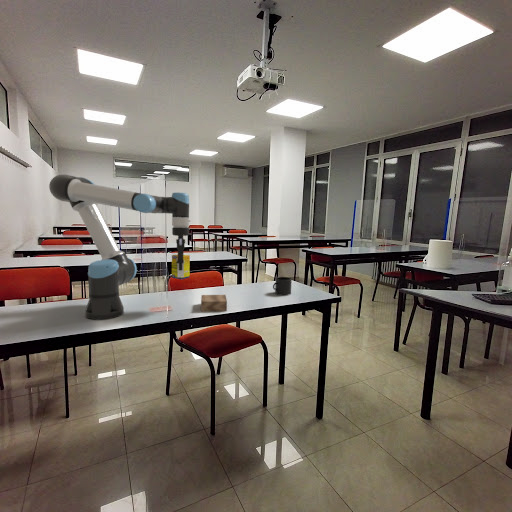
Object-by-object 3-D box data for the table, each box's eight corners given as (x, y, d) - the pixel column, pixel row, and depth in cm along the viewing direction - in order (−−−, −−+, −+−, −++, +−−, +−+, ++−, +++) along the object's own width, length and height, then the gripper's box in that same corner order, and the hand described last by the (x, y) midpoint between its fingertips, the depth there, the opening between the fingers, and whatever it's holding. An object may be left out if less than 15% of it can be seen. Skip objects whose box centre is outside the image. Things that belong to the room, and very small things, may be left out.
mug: (268, 292, 179) (269, 277, 178) (284, 290, 185) (285, 276, 184) (277, 296, 171) (277, 281, 170) (294, 294, 177) (294, 279, 176)
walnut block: (201, 312, 140) (201, 301, 140) (201, 304, 152) (201, 294, 151) (226, 311, 142) (226, 301, 141) (225, 304, 154) (225, 294, 153)
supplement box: (171, 278, 140) (171, 255, 139) (180, 276, 145) (180, 253, 144) (181, 279, 137) (181, 256, 136) (189, 277, 143) (190, 254, 141)
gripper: (189, 228, 129) (189, 279, 132) (188, 226, 149) (188, 271, 152) (171, 227, 127) (171, 280, 130) (173, 225, 147) (173, 271, 150)
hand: (180, 275), depth 141 cm, fingers closed on supplement box, 8 cm apart
